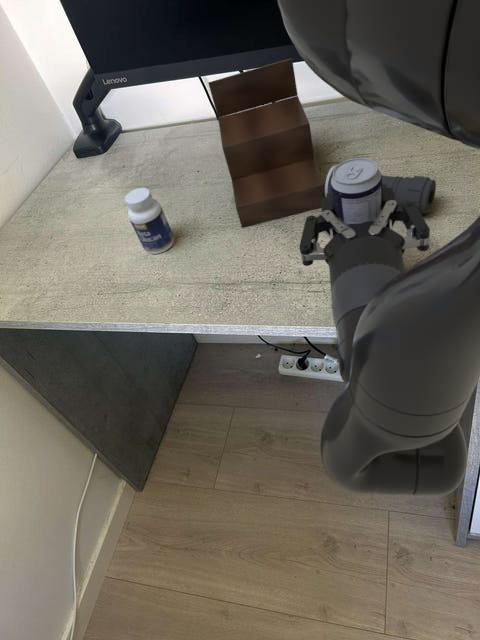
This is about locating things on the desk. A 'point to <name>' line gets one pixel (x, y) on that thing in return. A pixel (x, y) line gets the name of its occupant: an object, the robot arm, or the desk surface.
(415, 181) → the flashlight
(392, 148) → the desk surface
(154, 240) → the pill bottle
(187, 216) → the desk surface
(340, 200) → the beverage can
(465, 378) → the robot arm
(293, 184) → the wooden stair steps
